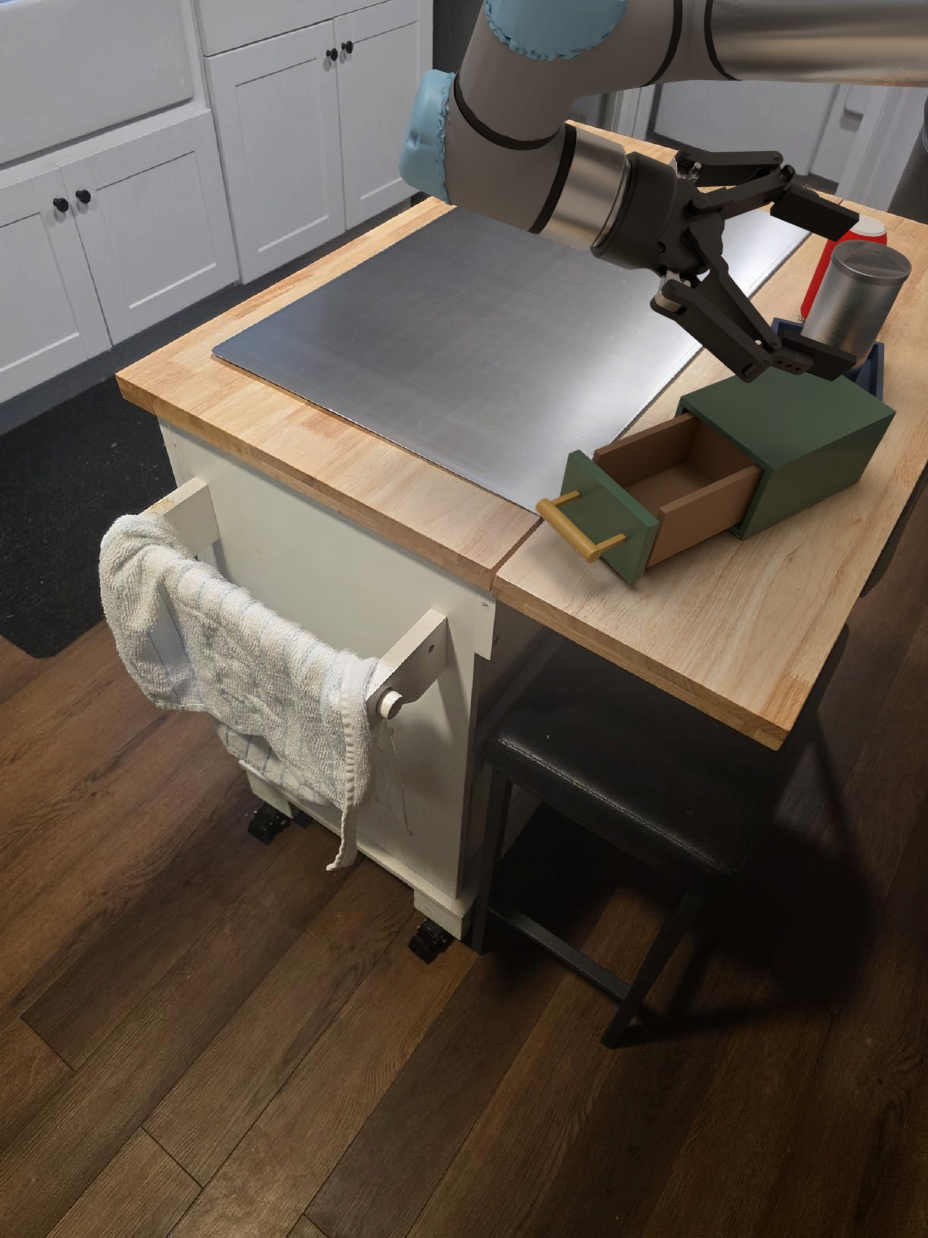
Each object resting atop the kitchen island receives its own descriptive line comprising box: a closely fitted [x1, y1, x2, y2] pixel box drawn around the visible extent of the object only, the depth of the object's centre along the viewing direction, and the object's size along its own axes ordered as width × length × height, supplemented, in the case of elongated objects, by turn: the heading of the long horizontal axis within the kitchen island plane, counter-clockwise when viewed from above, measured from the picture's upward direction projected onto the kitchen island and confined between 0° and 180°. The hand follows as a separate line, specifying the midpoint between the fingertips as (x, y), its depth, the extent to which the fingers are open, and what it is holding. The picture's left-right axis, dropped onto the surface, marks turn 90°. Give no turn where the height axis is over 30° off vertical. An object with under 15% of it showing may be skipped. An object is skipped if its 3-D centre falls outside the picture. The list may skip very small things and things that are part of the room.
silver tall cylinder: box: [800, 240, 913, 383], centre depth 90 cm, size 8×8×14 cm
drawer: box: [535, 412, 765, 585], centre depth 75 cm, size 20×10×7 cm, turn 124°
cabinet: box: [673, 366, 897, 541], centre depth 82 cm, size 16×11×8 cm
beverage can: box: [799, 214, 888, 322], centre depth 100 cm, size 6×6×12 cm
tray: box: [769, 316, 885, 403], centre depth 95 cm, size 15×12×3 cm
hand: (846, 296), depth 70 cm, fingers open, 13 cm apart
